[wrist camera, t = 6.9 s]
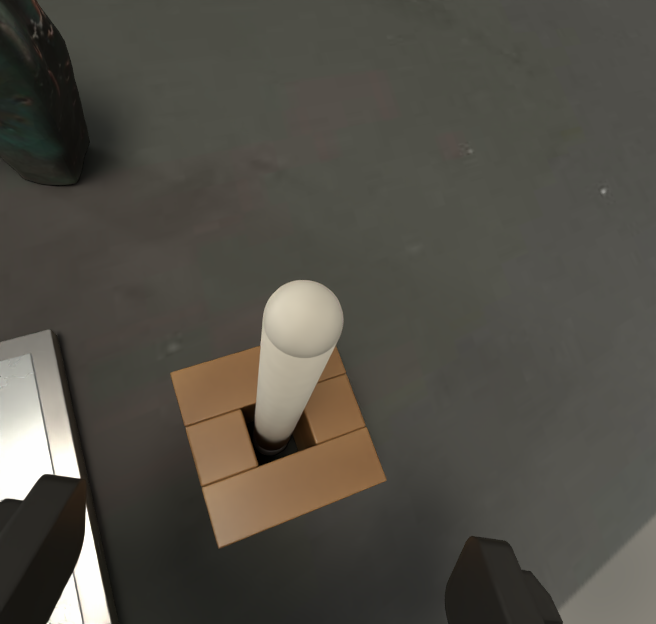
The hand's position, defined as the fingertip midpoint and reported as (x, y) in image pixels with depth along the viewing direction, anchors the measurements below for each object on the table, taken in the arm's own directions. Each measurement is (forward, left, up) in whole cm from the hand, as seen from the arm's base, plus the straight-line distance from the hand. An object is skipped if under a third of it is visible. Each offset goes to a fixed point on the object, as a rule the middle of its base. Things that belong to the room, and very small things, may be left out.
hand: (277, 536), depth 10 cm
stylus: (-3, +1, -12) cm, 12 cm away
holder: (-3, +1, -12) cm, 12 cm away
